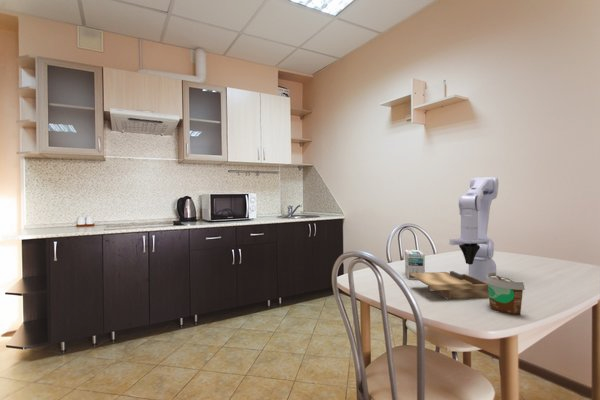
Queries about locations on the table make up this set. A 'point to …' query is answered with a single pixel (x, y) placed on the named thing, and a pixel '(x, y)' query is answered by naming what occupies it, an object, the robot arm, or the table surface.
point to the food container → (504, 294)
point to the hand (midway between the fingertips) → (469, 263)
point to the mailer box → (467, 290)
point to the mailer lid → (442, 280)
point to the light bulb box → (414, 262)
